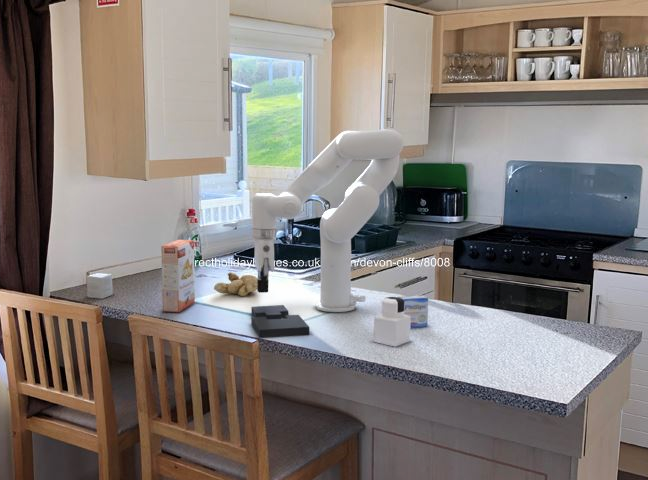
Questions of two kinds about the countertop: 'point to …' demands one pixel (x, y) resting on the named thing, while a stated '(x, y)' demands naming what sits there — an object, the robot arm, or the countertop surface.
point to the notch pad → (280, 326)
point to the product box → (99, 285)
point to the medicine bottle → (392, 323)
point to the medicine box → (416, 310)
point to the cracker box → (178, 275)
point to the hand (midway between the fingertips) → (262, 291)
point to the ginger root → (238, 285)
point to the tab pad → (270, 311)
